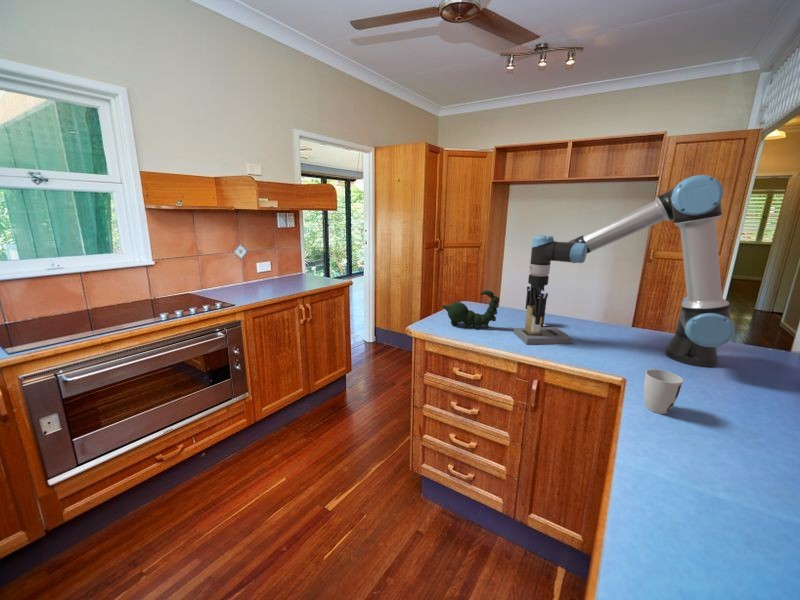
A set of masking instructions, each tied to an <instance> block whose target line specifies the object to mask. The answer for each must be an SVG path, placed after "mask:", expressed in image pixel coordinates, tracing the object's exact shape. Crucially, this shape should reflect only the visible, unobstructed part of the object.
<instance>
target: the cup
mask: <svg viewBox="0 0 800 600" xmlns="http://www.w3.org/2000/svg"><path fill="white" fill-rule="evenodd" d="M683 382H684V379H683V378H682V377H681V376H679V375H678V374H676V373H674V372H671V371H668V370H667V371H666V370H663V369H656V368H655V369H654V368H652V369H650V368H649V369H647V370H645V374H644V383H643V399H644V405H645V408H646V409H647V410H648V409H649V410H648V411H650V412H652V411H653V413H655V412H656V413H655V414H658V413H660V414H659V415H667V414H668V413H669V412H670V410H672V408H673V406H674V405H675V402H676V401H677V400H678V398H679V397H678V396H679V395H680V392H681V389H682V385H683ZM666 413H667V414H666Z"/></svg>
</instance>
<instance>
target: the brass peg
mask: <svg viewBox="0 0 800 600" xmlns="http://www.w3.org/2000/svg"><path fill="white" fill-rule="evenodd" d="M533 315H535V305H527V309H526V315H525V325H524V328H525V333H526V334H527V335H528V336H540V328H541V320H542V317H541V319H540V327H539V332H532V326H533Z"/></svg>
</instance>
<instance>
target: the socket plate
mask: <svg viewBox="0 0 800 600" xmlns="http://www.w3.org/2000/svg"><path fill="white" fill-rule="evenodd" d="M513 334H514V335H515V336H516V335H517V336H518V337H517V336H516V337H517V338H518V339H520V341H522V342H523V343H524V344H525V345H557V344H558V345H563V344H564V345H566V344H568V345H569V344H572V342H573V337H572V336H570V335H569V334H567V333H566V332H564V331H563V330H561V329H560V328H558V327H556V326H554V327H553V326H552V327H541V328H540V336H528V335H527V334H526V333H525V327H514V329H513Z"/></svg>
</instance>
